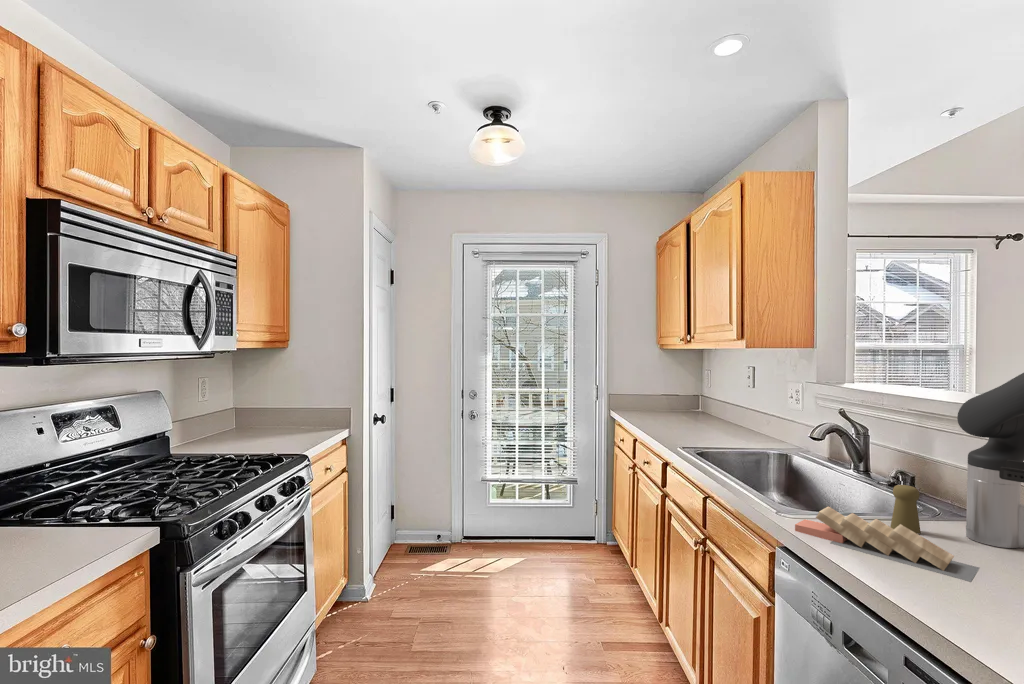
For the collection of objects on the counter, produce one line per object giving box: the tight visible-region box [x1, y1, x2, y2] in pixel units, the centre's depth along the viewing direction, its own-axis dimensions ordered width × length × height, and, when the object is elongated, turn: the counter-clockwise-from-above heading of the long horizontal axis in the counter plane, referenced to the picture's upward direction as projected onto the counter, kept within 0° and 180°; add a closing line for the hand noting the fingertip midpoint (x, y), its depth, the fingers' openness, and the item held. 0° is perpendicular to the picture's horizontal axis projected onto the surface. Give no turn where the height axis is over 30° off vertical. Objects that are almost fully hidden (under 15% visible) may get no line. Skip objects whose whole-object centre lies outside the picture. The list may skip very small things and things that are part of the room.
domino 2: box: [815, 506, 867, 547], centre depth 119 cm, size 2×6×10 cm
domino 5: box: [889, 524, 955, 571], centre depth 108 cm, size 2×6×10 cm
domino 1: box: [794, 519, 848, 543], centre depth 122 cm, size 2×6×10 cm
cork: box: [889, 484, 921, 535], centre depth 127 cm, size 6×6×11 cm
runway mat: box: [829, 539, 980, 583], centre depth 111 cm, size 24×10×1 cm, turn 41°
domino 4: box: [864, 518, 921, 563], centre depth 112 cm, size 2×6×10 cm
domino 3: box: [840, 512, 894, 556], centre depth 115 cm, size 2×6×10 cm
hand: (1002, 468), depth 99 cm, fingers open, 8 cm apart
